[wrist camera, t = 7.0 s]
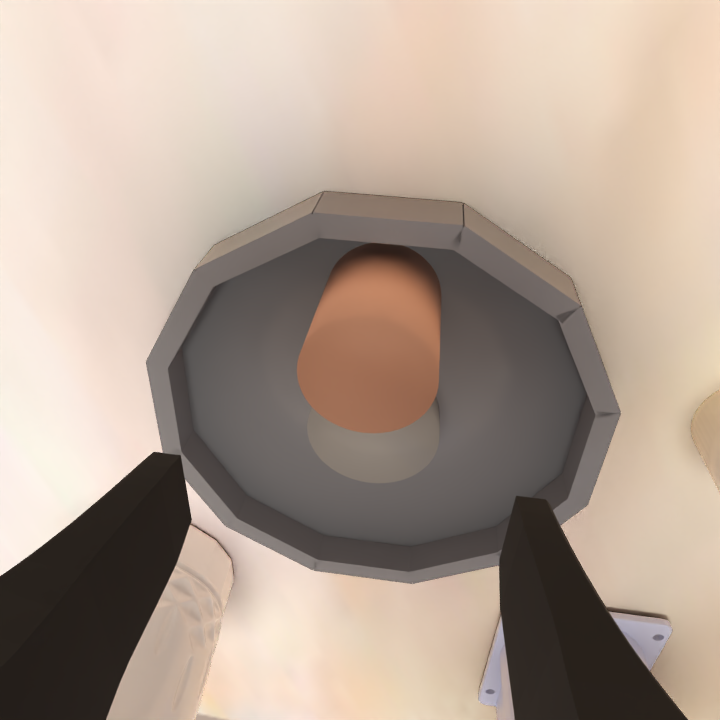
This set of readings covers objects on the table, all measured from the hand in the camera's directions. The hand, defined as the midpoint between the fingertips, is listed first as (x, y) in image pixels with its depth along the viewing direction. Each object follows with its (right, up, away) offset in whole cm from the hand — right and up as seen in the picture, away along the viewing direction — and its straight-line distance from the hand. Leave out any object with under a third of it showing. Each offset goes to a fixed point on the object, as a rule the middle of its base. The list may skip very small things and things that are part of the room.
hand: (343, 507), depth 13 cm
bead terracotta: (+1, +5, +8) cm, 10 cm away
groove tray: (+1, +1, +11) cm, 12 cm away
